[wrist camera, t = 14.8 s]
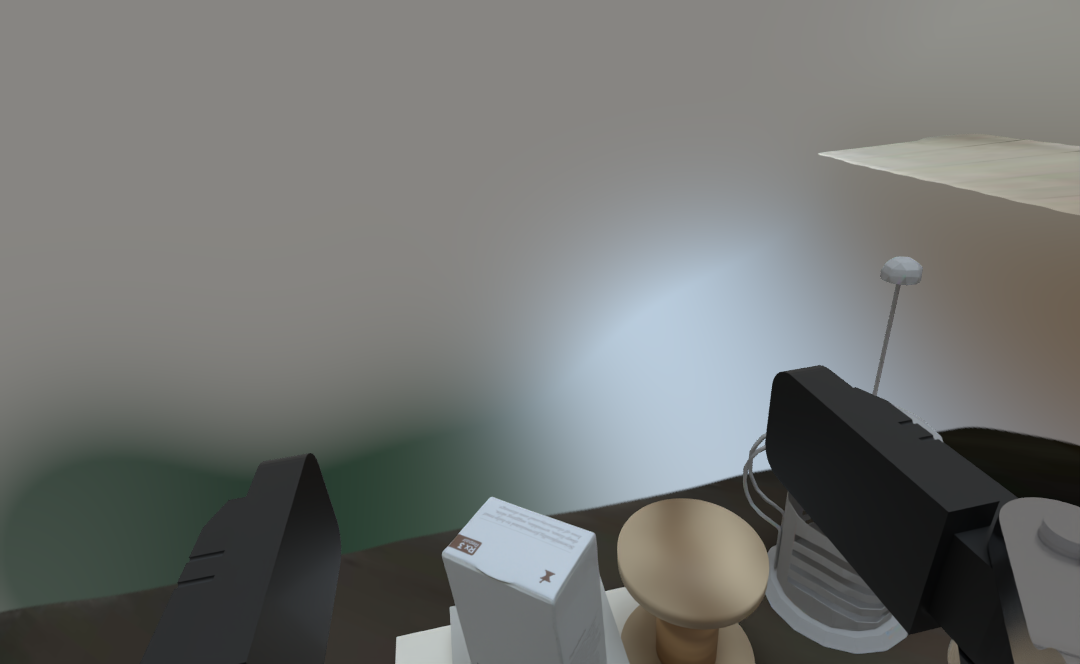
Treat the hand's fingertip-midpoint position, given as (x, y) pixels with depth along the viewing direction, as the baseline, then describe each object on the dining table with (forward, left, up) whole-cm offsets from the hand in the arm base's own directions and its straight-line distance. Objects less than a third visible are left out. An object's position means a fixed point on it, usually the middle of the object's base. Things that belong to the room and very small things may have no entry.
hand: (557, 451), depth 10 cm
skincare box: (0, -11, -26) cm, 28 cm away
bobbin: (-9, -13, -29) cm, 33 cm away
